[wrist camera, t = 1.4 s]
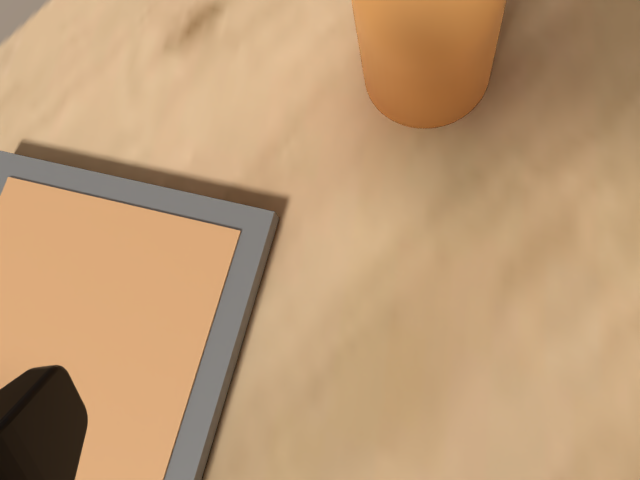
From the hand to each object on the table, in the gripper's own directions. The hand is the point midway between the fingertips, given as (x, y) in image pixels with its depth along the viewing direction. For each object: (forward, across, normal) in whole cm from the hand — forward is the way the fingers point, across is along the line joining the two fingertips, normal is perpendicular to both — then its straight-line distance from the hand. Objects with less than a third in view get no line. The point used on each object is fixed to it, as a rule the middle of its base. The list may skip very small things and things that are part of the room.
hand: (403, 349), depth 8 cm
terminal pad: (+12, +12, +7) cm, 18 cm away
